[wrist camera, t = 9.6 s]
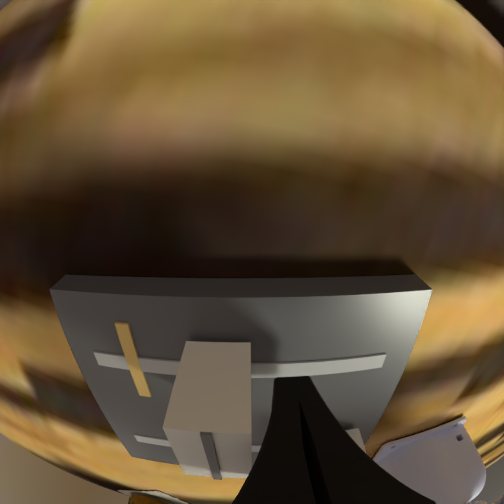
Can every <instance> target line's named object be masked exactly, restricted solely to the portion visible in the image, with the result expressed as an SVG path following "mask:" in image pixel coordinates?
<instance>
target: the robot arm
mask: <svg viewBox="0 0 504 504" xmlns="http://www.w3.org/2000/svg"><path fill="white" fill-rule="evenodd" d="M271 409H272V411H271V416H270V420H269V424H268V427H267V430H266V433H265V436H264V439H263V442H262V445H261V448H260V450H259V453H258V455H257V458H256V460H255V462H254V464H253V467H252V469H251V471H250V473H249V475H248V477H247V479H246V481H245V483H244V484H243V486H242V488H241V490H240V491H239V493H238V495H237V496H236V498H235V499H234V501H233V503H232V504H472V503H471V502H469V501H471V500H472V499H474V498H475V497H476V496H477V495H478V494H479V493H480V492H481V490H482V489H483V487H484V484H485V480H486V470H485V466H484V463H483V461H482V459H481V457H480V455H479V453H478V451H477V449H476V447H475V445H474V444H473V442H472V440H471V438H470V436H469V434H468V433H467V431H466V429H465V427H464V425H463V423H464V422H465V421H466V417H465V416H463V417H461V418H458V419H456V420H454V421H451V422H449V423H446V424H444V425H441V426H438V427H436V428H433V429H430V430H427V431H424V432H421V433H418V434H415V435H412V436H409V437H406V438H402V439H399V440H395V441H392V442H388V443H386V444H384V445H383V446H382V447H381V448H380V450H379V451H378V452H377V454H376V455H375V457H374V458H373V459H371V458H370V457H369V456H368V455H367V454H366V453H365V452H364V451H363V450H362V449H361V448H360V447H359V446H358V445H357V444H356V442H355V441H354V440H353V439H352V438H351V437H350V436H349V434H348V433H347V432H346V431H345V430H344V428H343V427H342V426H341V424H340V423H339V422H338V420H337V419H336V418H335V416H334V415H333V413H332V412H331V411H330V409H329V408H328V406H327V405H326V403H325V402H324V400H323V398H322V397H321V395H320V393H319V392H318V390H317V388H316V387H315V385H314V383H313V381H312V379H311V377H309V376H294V377H277V378H275V379H274V385H273V396H272V408H271ZM474 504H487V502H486V501H480V500H478V501H476V502H475V503H474ZM492 504H504V495H503V496H502V497H500V498H499V499H497V500H496V501H495V502H493V503H492Z"/></svg>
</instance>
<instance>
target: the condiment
mask: <svg viewBox="0 0 504 504" xmlns="http://www.w3.org/2000/svg"><path fill="white" fill-rule="evenodd" d="M118 491H119V492H121V493H123V494H125V495H128V496H130V498H129V502H128V504H188V503H186V502H184V501H181V500H179V499H178V498H173V497H171V496H169V495H167V494H164V493H161V492H159V491H133V490H132V491H129V490H118ZM160 496H161V497H160Z"/></svg>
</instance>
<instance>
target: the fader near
mask: <svg viewBox="0 0 504 504" xmlns="http://www.w3.org/2000/svg"><path fill="white" fill-rule="evenodd" d="M163 430H164V432H165V434H166V437H167V439H168V441H169V443H170V445H171V447H172V449H173V452H174V454H175V456H176V458H177V460H178V462H179V464H180V466H181V468H182V470H183V471H184V473H185V474H187V475H196V476H207V477H213V479H219V480H222V477H223V478H247V477H248V475H249V473H250V471H251V469H252V433H251V342H197V341H186V343H185V347H184V350H183V354H182V357H181V361H180V364H179V368H178V371H177V375H176V378H175V382H174V386H173V389H172V393H171V397H170V401H169V404H168V408H167V412H166V416H165V420H164V424H163Z"/></svg>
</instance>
